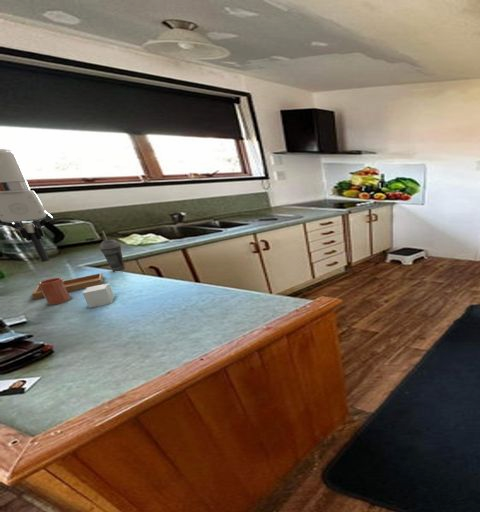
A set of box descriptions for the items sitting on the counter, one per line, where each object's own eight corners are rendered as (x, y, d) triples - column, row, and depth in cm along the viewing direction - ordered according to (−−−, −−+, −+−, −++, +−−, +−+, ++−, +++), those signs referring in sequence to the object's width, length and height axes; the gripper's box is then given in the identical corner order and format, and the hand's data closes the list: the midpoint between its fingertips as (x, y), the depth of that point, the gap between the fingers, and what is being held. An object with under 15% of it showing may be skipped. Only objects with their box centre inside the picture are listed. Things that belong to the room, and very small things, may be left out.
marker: (40, 262, 100) (23, 225, 95) (41, 260, 102) (24, 224, 97) (49, 260, 101) (32, 224, 97) (50, 259, 103) (33, 223, 98)
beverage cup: (114, 273, 130) (98, 233, 123) (105, 271, 132) (89, 232, 125) (132, 268, 136) (118, 229, 129) (123, 266, 138) (109, 228, 132)
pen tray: (34, 299, 106) (31, 294, 105) (39, 291, 113) (36, 286, 112) (102, 284, 118) (100, 279, 117) (103, 277, 125) (101, 273, 124)
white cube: (114, 297, 106) (109, 283, 104) (111, 302, 101) (105, 288, 99) (93, 301, 102) (87, 287, 101) (88, 308, 98) (82, 293, 96)
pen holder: (47, 306, 100) (36, 285, 97) (49, 301, 104) (39, 280, 101) (69, 300, 104) (60, 280, 101) (71, 296, 108) (62, 276, 105)
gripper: (-33, 190, 85) (-4, 246, 91) (44, 186, 95) (66, 236, 101) (-24, 188, 90) (3, 241, 96) (48, 185, 100) (69, 233, 106)
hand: (35, 238), depth 99 cm, fingers closed on marker, 2 cm apart
